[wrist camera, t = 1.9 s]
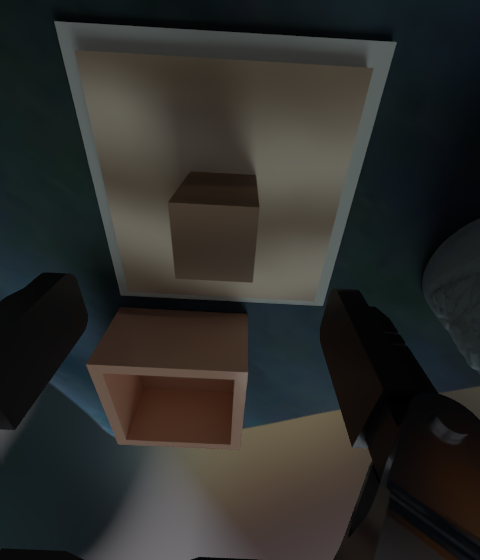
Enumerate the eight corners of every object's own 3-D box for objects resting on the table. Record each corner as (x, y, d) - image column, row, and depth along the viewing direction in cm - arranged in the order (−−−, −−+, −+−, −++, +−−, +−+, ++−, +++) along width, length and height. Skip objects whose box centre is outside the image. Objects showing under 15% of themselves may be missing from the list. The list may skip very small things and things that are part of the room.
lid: (83, 52, 13) (-17, 27, 8) (367, 69, 13) (439, 55, 8) (132, 285, 20) (95, 346, 15) (312, 294, 20) (332, 358, 15)
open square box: (119, 307, 22) (86, 364, 17) (247, 313, 22) (247, 372, 17) (139, 385, 27) (118, 444, 23) (241, 390, 27) (240, 450, 23)
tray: (59, 23, 12) (54, 21, 12) (392, 43, 13) (396, 42, 12) (122, 292, 21) (120, 295, 20) (321, 302, 21) (322, 305, 21)
